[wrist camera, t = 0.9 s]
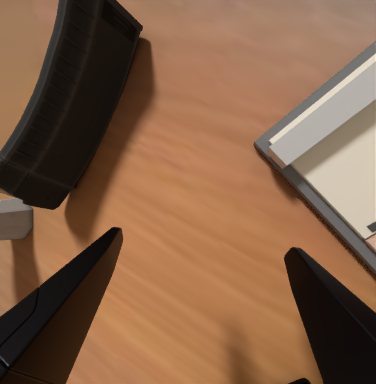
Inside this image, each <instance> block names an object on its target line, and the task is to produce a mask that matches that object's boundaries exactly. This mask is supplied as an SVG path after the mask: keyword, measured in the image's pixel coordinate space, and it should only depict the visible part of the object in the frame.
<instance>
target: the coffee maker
mask: <svg viewBox="0 0 376 384" xmlns="http://www.w3.org/2000/svg"><path fill="white" fill-rule="evenodd" d="M22 202H23V200H21V199H18V198H12V199H4V200H0V240H11V239H25V238H26V236H27V235H28V233H29V232H30V230H31V229H32V227H33V209H32V207H31V206H29V205H25V204H23V203H22Z"/></svg>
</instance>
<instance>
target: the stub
mask: <svg viewBox="0 0 376 384" xmlns="http://www.w3.org/2000/svg"><path fill="white" fill-rule="evenodd" d="M364 241H365V242H366V243H367V244H368V245H369V246H370V247H371V249H372V250H373V251H374V252H375V253H376V233H375V234H373V235H372V236H370V237H368V238H366V239H364Z"/></svg>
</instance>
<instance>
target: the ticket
mask: <svg viewBox="0 0 376 384" xmlns="http://www.w3.org/2000/svg"><path fill="white" fill-rule="evenodd" d="M375 61H376V54H374V55H373V56H372V57H371V58H370V59H368V60H367V61H366V62H365V63H363V64H362V65H361V66H360V67H358V68H357V69H356V70H355V71H354V72H352V73H351V74H350V75H349V76H347V77H346V78H345V79H344V80H342V81H341V82H340V83H339V84H338V85H336V86H335V87H334V88H333V89H331V90H330V91H329V92H328V93H326V94H325V95H324V96H323V97H322V98H320V99H319V100H318V101H317V102H315V103H314V104H313V105H312V106H311V107H309V108H308V109H307V110H306V111H304V112H303V113H302V114H301V115H299V116H298V117H297V118H296V119H295V120H293V121H292V122H291V123H290V124H288V125H287V126H286V127H285V128H283V129H282V130H281V131H280V132H279V133H277V134H276V135H275V136H274V137H272V138H271V139H270V140H269V141H268V143H269V144H270V145H272V144H273V143H274V142H276V141H277V140H278V139H279V138H281V137H282V136H283V135H284V134H286V133H287V132H288V131H289V130H291V129H292V128H293V127H294V126H296V125H297V124H298V123H299V122H301V121H302V120H303V119H304V118H306V117H307V116H308V115H309V114H311V113H312V112H313V111H314V110H316V109H317V108H318V107H319V106H320V105H322V104H323V103H324V102H325V101H327V100H328V99H329V98H330V97H332V96H333V95H334V94H335V93H337V92H338V91H339V90H340V89H342V88H343V87H344V86H345V85H347V84H348V83H349V82H350V81H352V80H353V79H354V78H355V77H357V76H358V75H359V74H360V73H362V72H363V71H364V70H365V69H367V68H368V67H369V66H370V65H372V64H373V63H374V62H375ZM290 165H291V166H292V167H293V168H294V169H295V170H296V171H297V172H298V173H299V175H300V176H301V177H302V178H303V179H304V180H305V181H306V182H307V183H308V184H309V185H310V186H311V187H312V188H313V189H314V190H315V191H316V192H317V193H318V194H319V195H320V196H321V197H322V198H323V199H324V200H325V201H326V202H327V203H328V204H329V205H330V206H331V208H332V209H333V210H334V211H335V212H336V213H337V214H338V215H339V216H340V217H341V218H342V219H343V220H344V221H345V222H346V223H347V224H348V225H349V226H350V227H351V228H352V229H353V230H354V231H355V232H356V233H357V234H358V235H359V236H360V237H361V238H364V239H366V238H367V237H369V236H371V235H373V234H374V233H376V99H375V100H374V101H372V102H371V103H370V104H368V105H367V106H366V107H364V108H363V109H362V110H360V111H359V112H358V113H356V114H355V115H354V116H352V117H351V118H350V119H348V120H347V121H346V122H344V123H343V124H342V125H340V126H339V127H338V128H336V129H335V130H334V131H332V132H331V133H330V134H328V135H327V136H326V137H324V138H323V139H322V140H320V141H319V142H318V143H316V144H315V145H314V146H312V147H311V148H310V149H308V150H307V151H306V152H304V153H303V154H302V155H300V156H299V157H298V158H296V159H295V160H294V161H292V162H291V163H290Z"/></svg>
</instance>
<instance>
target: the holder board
mask: <svg viewBox="0 0 376 384" xmlns="http://www.w3.org/2000/svg"><path fill="white" fill-rule="evenodd" d="M374 54H376V41H375V42H374V43H373V44H372V45H370V46H369V47H368V48H367V49H366V50H364V51H363V52H362V53H361V54H360V55H358V56H357V57H356V58H355V59H354V60H352V61H351V62H350V63H349V64H348V65H346V66H345V67H344V68H343V69H342V70H340V71H339V72H338V73H337V74H335V75H334V76H333V77H332V78H331V79H329V80H328V81H327V82H326V83H325V84H323V85H322V86H321V87H320V88H319V89H317V90H316V91H315V92H314V93H313V94H311V95H310V96H309V97H308V98H307V99H305V100H304V101H303V102H302V103H301V104H299V105H298V106H297V107H296V108H295V109H293V110H292V111H291V112H290V113H289V114H287V115H286V116H285V117H284V118H283V119H281V120H280V121H279V122H278V123H277V124H275V125H274V126H273V127H272V128H270V129H269V130H268V131H267V132H266V133H264V134H263V135H262V136H261V137H260V138H258V139H257V140H256V141H255V142H254V146H255V147H256V148H257V149H258V150H259V151H260V152H261V153H262V155H263V156H264V157H265V158H266V159H267V160H268V161H269V162H270V163H271V164H272V165H273V166H274V167H275V168H276V169H277V171H278V172H279V173H280V174H281V175H282V176H283V177H284V178H285V179H286V180H287V181H288V182H289V183H290V184H291V185H292V187H293V188H294V189H295V190H296V191H297V192H298V193H299V194H300V195H301V196H302V197H303V198H304V199H305V200H306V201H307V202H308V204H309V205H310V206H311V207H312V208H313V209H314V210H315V211H316V212H317V213H318V214H319V215H320V216H321V217H322V218H323V220H324V221H325V222H326V223H327V224H328V225H329V226H330V227H331V228H332V229H333V230H334V231H335V232H336V233H337V234H338V236H339V237H340V238H341V239H342V240H343V241H344V242H345V243H346V244H347V245H348V246H349V247H350V248H351V249H352V250H353V252H354V253H355V254H356V255H357V256H358V257H359V258H360V259H361V260H362V261H363V262H364V263H365V264H366V265H367V266H368V267H369V269H370V270H371V271H372V272H373V273H374V274H375V275H376V253H375V252H374V251H373V250H372V249H371V247H370V246H369V245H368V244H367V243H366V242H365V241H364V238H361V237H360V236H359V235H358V234H357V233H356V232H355V231H354V230H353V229H352V228H351V227H350V226H349V225H348V224H347V223H346V222H345V221H344V220H343V219H342V218H341V217H340V216H339V215H338V214H337V213H336V212H335V211H334V210H333V209H332V208H331V206H330V205H329V204H328V203H327V202H326V201H325V200H324V199H323V198H322V197H321V196H320V195H319V194H318V193H317V192H316V191H315V190H314V189H313V188H312V187H311V186H310V185H309V184H308V183H307V182H306V181H305V180H304V179H303V178H302V177H301V176H300V175H299V173H298V172H297V171H296V170H295V169H294V168H293V167H292V166H291V165H290V163H291V162H292V161H294V160H295V159H296V158H298V157H299V156H300V155H302V154H303V153H304V152H306V151H307V150H308V149H310V148H311V147H312V146H314V145H315V144H316V143H318V142H319V141H320V140H322V139H323V138H324V137H326V136H327V135H328V134H330V133H331V132H332V131H334V130H335V129H336V128H338V127H339V126H340V125H342V124H343V123H344V122H346V121H347V120H348V119H350V118H351V117H352V116H354V115H355V114H356V113H358V112H359V111H360V110H362V109H363V108H364V107H366V106H367V105H368V104H370V103H371V102H372V101H374V100H375V99H376V61H375V62H374V63H373V64H372V65H370V66H369V67H368V68H367V69H365V70H364V71H363V72H362V73H360V74H359V75H358V76H357V77H355V78H354V79H353V80H352V81H350V82H349V83H348V84H347V85H345V86H344V87H343V88H342V89H340V90H339V91H338V92H337V93H335V94H334V95H333V96H332V97H330V98H329V99H328V100H327V101H325V102H324V103H323V104H322V105H320V106H319V107H318V108H317V109H316V110H314V111H313V112H312V113H311V114H309V115H308V116H307V117H306V118H304V119H303V120H302V121H301V122H299V123H298V124H297V125H296V126H294V127H293V128H292V129H291V130H289V131H288V132H287V133H286V134H284V135H283V136H282V137H281V138H279V139H278V140H277V141H276V142H274V143H273V144H272V145H270V144H269V143H268V141H269V140H270V139H271V138H272V137H274V136H275V135H276V134H277V133H279V132H280V131H281V130H282V129H283V128H285V127H286V126H287V125H288V124H290V123H291V122H292V121H293V120H295V119H296V118H297V117H298V116H299V115H301V114H302V113H303V112H304V111H306V110H307V109H308V108H309V107H311V106H312V105H313V104H314V103H315V102H317V101H318V100H319V99H320V98H322V97H323V96H324V95H325V94H326V93H328V92H329V91H330V90H331V89H333V88H334V87H335V86H336V85H338V84H339V83H340V82H341V81H342V80H344V79H345V78H346V77H347V76H349V75H350V74H351V73H352V72H354V71H355V70H356V69H357V68H358V67H360V66H361V65H362V64H363V63H365V62H366V61H367V60H368V59H370V58H371V57H372V56H373V55H374ZM374 234H375V233H374ZM371 236H372V235H371ZM369 237H370V236H369ZM367 238H368V237H367Z"/></svg>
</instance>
